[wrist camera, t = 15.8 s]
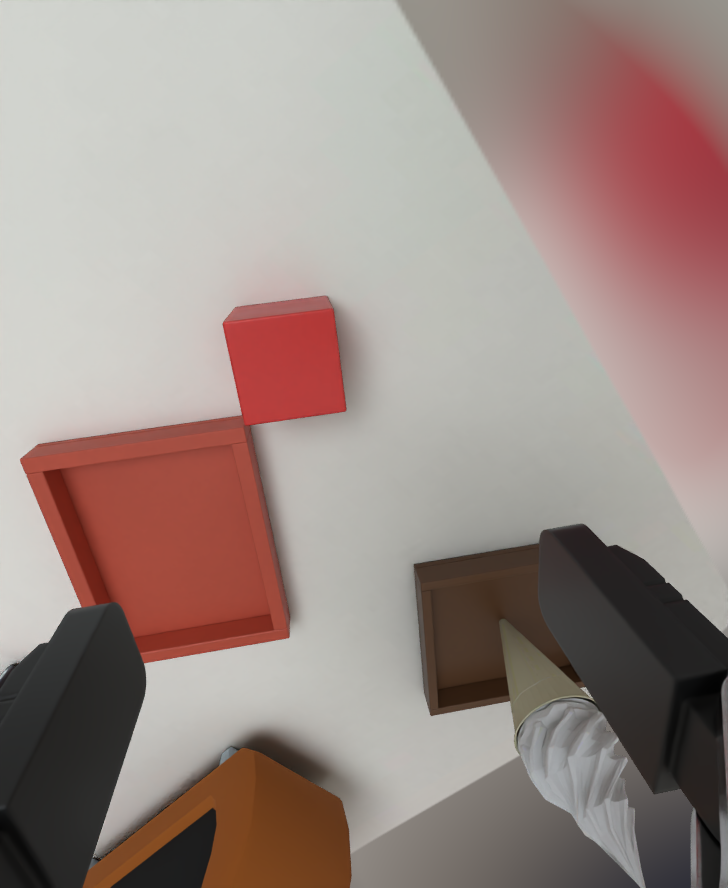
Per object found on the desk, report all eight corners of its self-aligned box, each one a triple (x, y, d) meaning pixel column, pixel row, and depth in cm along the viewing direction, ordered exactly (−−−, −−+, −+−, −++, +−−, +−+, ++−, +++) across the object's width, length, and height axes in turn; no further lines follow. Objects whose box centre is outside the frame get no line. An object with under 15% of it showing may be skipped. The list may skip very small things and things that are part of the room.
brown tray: (413, 564, 31) (420, 583, 30) (585, 535, 32) (602, 552, 30) (424, 692, 36) (430, 716, 34) (574, 665, 37) (588, 686, 35)
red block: (234, 306, 24) (221, 322, 20) (327, 295, 25) (333, 307, 20) (252, 395, 26) (244, 426, 22) (338, 384, 26) (346, 411, 22)
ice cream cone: (476, 660, 35) (594, 941, 21) (457, 607, 33) (575, 880, 19) (545, 635, 35) (709, 901, 21) (530, 580, 32) (703, 835, 19)
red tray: (37, 444, 26) (18, 459, 24) (247, 414, 26) (243, 427, 25) (118, 645, 31) (107, 670, 29) (290, 616, 32) (289, 638, 30)
